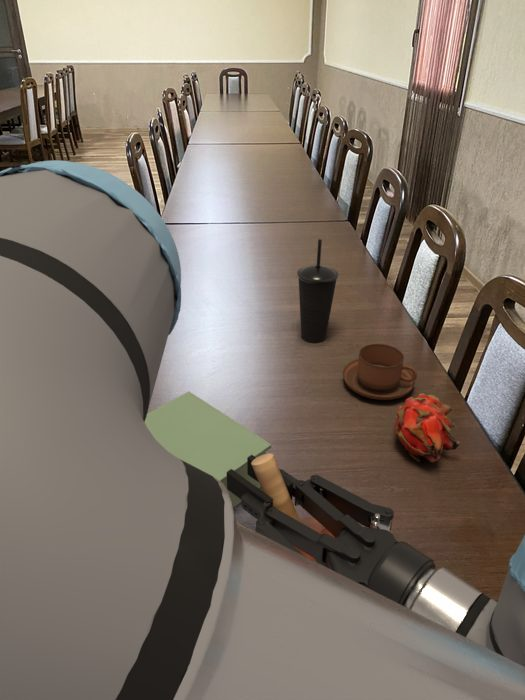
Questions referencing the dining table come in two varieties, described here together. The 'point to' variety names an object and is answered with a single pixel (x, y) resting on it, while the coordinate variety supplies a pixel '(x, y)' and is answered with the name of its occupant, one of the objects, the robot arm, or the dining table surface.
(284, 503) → the wooden peg on base
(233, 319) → the dining table surface
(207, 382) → the dining table surface
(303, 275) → the drinking cup
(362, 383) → the cup and saucer
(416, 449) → the dragon fruit
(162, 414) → the cabinet
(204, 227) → the dining table surface
